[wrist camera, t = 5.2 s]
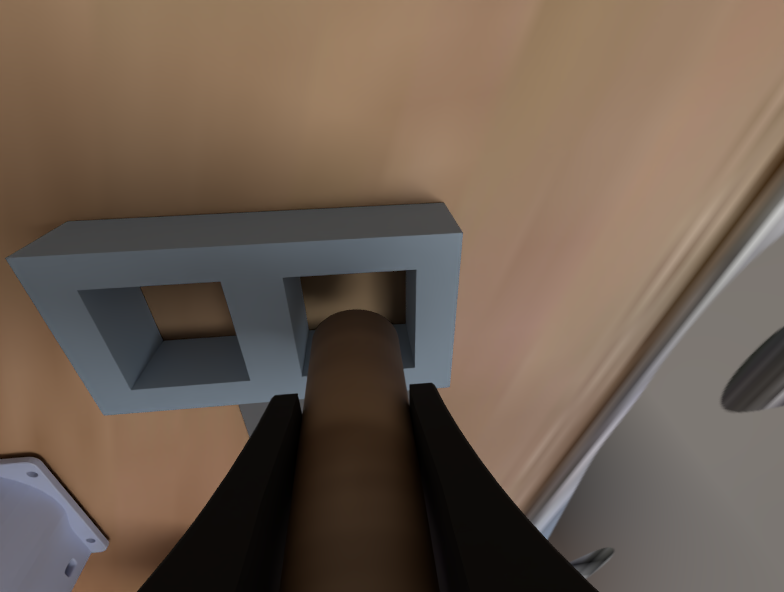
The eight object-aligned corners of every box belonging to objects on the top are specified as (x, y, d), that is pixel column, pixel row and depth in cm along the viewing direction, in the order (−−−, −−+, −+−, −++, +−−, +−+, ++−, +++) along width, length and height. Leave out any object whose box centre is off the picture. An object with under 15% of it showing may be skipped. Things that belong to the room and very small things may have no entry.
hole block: (436, 341, 19) (449, 386, 16) (138, 364, 18) (103, 415, 15) (443, 202, 15) (463, 232, 12) (67, 221, 14) (5, 258, 12)
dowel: (398, 373, 14) (451, 739, 7) (316, 378, 14) (277, 764, 6) (399, 306, 13) (471, 693, 5) (306, 312, 12) (238, 723, 5)
